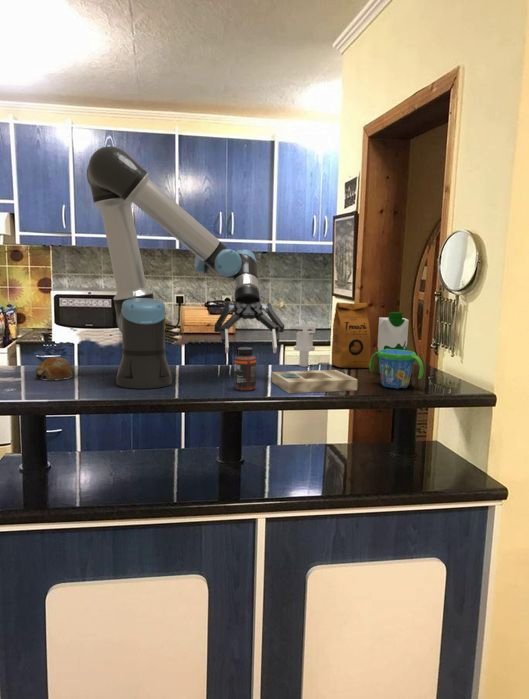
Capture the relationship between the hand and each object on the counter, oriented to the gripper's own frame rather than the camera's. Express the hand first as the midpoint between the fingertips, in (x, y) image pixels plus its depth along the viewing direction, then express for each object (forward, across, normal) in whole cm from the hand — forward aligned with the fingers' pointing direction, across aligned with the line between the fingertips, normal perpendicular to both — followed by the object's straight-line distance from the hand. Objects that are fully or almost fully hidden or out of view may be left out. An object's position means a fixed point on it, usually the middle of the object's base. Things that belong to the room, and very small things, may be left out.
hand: (251, 350), depth 161 cm
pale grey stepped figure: (-14, -21, -29) cm, 38 cm away
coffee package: (-12, -37, -27) cm, 47 cm away
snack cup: (+10, -41, -4) cm, 42 cm away
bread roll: (0, +56, -14) cm, 58 cm away
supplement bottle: (+11, +2, -3) cm, 12 cm away
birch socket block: (+9, -18, -5) cm, 20 cm away
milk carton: (-2, -46, -17) cm, 49 cm away
